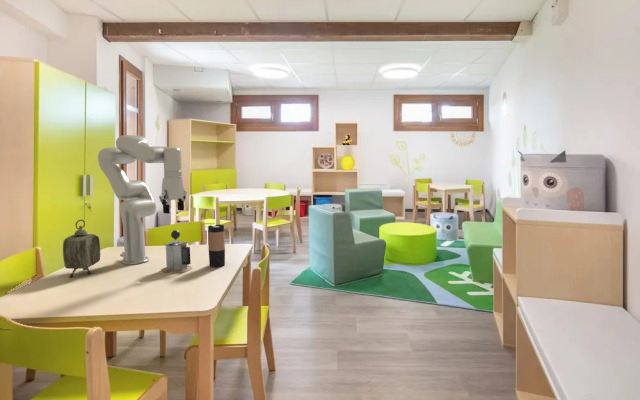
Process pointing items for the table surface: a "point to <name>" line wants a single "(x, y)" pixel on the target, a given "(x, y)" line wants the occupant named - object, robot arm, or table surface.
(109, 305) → the table surface
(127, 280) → the table surface
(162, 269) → the disc
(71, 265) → the tabletop clock
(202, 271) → the table surface
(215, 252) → the travel mug
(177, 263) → the grey slotted housing
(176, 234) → the plunger
